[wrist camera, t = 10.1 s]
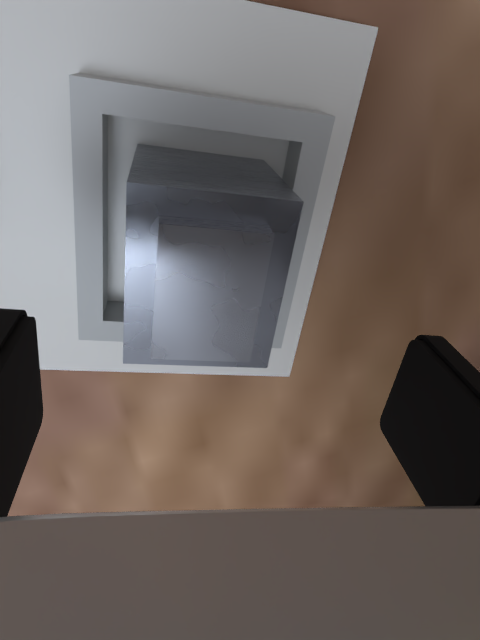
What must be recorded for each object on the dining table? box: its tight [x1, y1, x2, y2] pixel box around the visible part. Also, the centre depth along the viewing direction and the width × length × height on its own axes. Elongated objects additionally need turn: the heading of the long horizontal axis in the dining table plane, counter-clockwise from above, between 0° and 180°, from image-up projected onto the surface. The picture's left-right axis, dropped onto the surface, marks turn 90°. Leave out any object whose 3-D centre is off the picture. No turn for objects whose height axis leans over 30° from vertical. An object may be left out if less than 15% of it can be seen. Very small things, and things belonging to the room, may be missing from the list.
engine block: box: [123, 144, 304, 368], centre depth 16 cm, size 5×6×7 cm
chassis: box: [0, 0, 378, 377], centre depth 16 cm, size 24×16×6 cm, turn 81°
